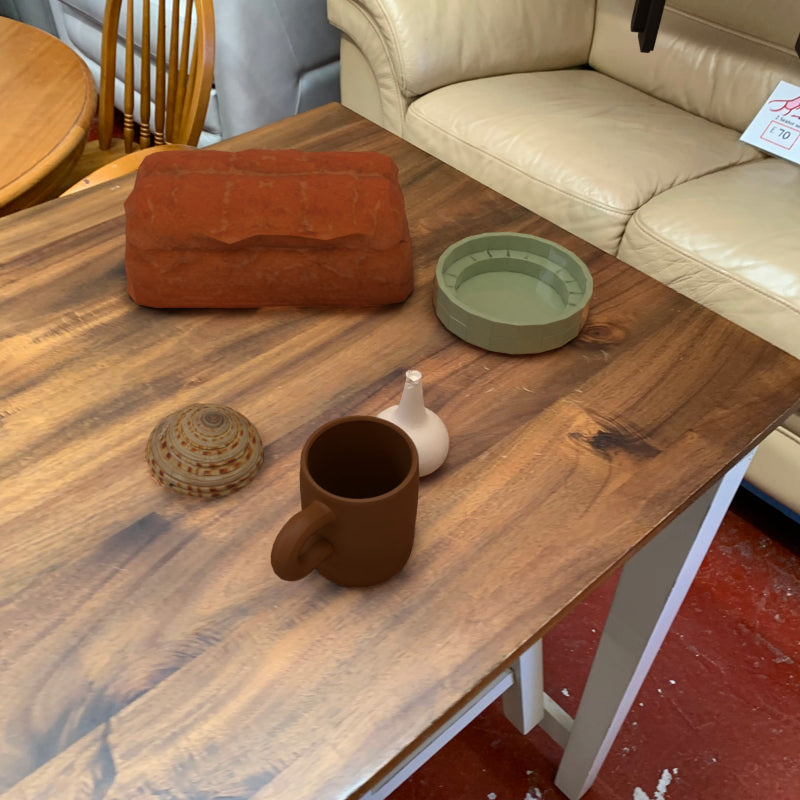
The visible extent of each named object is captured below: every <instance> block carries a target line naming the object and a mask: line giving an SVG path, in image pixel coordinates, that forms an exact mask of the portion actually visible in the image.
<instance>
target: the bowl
mask: <svg viewBox="0 0 800 800" xmlns="http://www.w3.org/2000/svg"><path fill="white" fill-rule="evenodd" d="M434 270H435V271H434V277H433V278H434V279H433V292H432V302H433V306H434V310H435V315H436V316H437V318H438V319H439V320H440V322H441V323H442V324H443V325H444V327H445V328H446V329H447V330H448V331H450V332H451V333H452V334H454V335H456V337H458V338H460V339H461V340H463V341H464V342H466V343H469V344H471V345H473V346H476V347H479V348H480V349H484V350H486V351H490V352H495V353H503V354H508V355H529V354H540V353H544V352H547V351H551V350H554V349H555V350H556V349H559V348H560V347H561V348H562V347H563V346H564V345H566V344H567V343H569V342H570V341H572V340H573V339H575V338H576V337H577V336H578V335H579V333H580V332H581V330H582V329H583V328H584V326H585V324H586V322H587V318H588V314H589V311H590V306H591V302H592V298H593V294H594V293H593V291H594V279H593V276H592V274H591V272H590V270H589V267H588V266H587V264H586V263H585V262H584V261H583V260H581V259H580V258H579V257H578V256H577V255H576V254H575V253H574V252H573V251H572V250H569V249H567V248H566V247H564V246H562V245H561V244H559V243H557V242H555V241H552V240H549V239H546V238H543V237H540V236H537V235H533V234H528V233H521V232H514V231H495V232H494V231H492V232H483V233H479V234H475V235H471V236H467V237H464V238H463V239H460V240H458V241H456V242H454V243H452V244H451V245H449V246H448V247H447V248H446V249H445V250H444V252H443V253H442V254H441V255H440V256H439V257H438V259H437V263H436V266H435V269H434Z"/></svg>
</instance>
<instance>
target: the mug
mask: <svg viewBox="0 0 800 800" xmlns="http://www.w3.org/2000/svg"><path fill="white" fill-rule="evenodd" d="M299 459H300V460H299V493H300V507H301V510H300V511H298V512H296V513H295V514H293V515H292V516H291V517H290V518H289V519H288V520H287V521H286V522H285V523H284V524H283V526H282V527H281V529H280V530H279V532H278V533H277V535H276V537H275V539H274V541H273V542H272V543H273V544H272V548H271V551H270V565H271V568H272V570H273V573H274V575H276V576H277V578H279V579H280V580H282V581H285V582H288V583H289V582H297V581H301V580H304V578H306V577H307V576H309V575H310V574H312V573H313V572H314V571H316V572H317V573H318V574H319V575H320V576H321V577H323V578H324V579H325V580H328V581H329V582H331V583H333V584H334V585H338V586H341V587H345V588H350V589H369V588H373V587H377V586H380V585H382V584H384V583H386V582H389V581H391V579H393V578H395V577H397V575H398V574H400V573H401V571H402V570H403V569H404V568H405V566H406V565H407V563H408V561H409V560H410V558H411V555H412V552H413V550H414V549H413V548H414V542H415V534H416V524H417V522H416V521H417V516H418V505H419V504H418V503H419V492H420V477H419V456H418V451H417V448H416V446H415V444H414V442H413V441H412V439H411V438H410V437H409V435H408V434H407V433H406V432H405V431H404V430H403V429H401V428H400V427H399V426H397V425H395V424H394V423H392V422H389V421H387V420H384V419H381V418H378V417H376V416H373V415H365V414H363V415H361V414H358V415H357V414H356V415H348V416H342V417H337V418H335V419H331V420H330V421H327V422H326V423H324V424H322V425H321V426H319V427H318V428H316V429H315V430H313V432H312V433H311V434H310V435H309V437H308V438H307V440H306V441H305V443H304V445H303V446H302V450H301V452H300V458H299Z"/></svg>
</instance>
